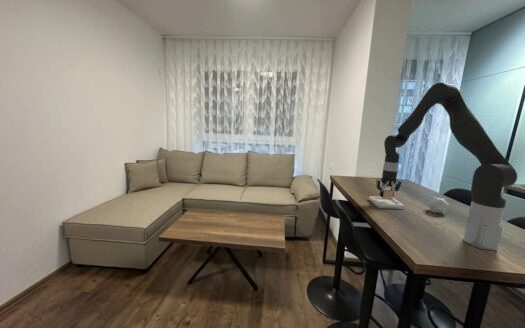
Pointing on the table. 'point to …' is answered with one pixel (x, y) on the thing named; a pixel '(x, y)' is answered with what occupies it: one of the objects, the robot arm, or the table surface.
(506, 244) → the table surface
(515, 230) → the table surface
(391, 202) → the tray
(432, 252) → the table surface
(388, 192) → the cube
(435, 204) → the die
